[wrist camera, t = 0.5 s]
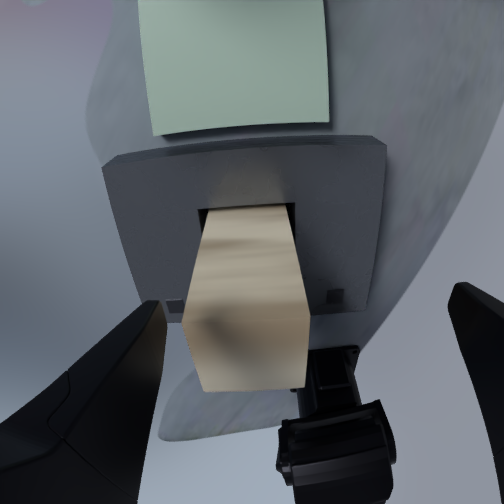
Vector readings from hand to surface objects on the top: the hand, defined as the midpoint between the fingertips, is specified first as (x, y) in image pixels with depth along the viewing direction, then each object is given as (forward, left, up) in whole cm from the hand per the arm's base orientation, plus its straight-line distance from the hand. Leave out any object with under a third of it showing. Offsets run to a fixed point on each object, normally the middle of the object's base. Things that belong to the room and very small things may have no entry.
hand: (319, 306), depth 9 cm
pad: (+8, +2, -12) cm, 15 cm away
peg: (-4, +2, -12) cm, 13 cm away
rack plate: (-4, +2, -12) cm, 13 cm away
